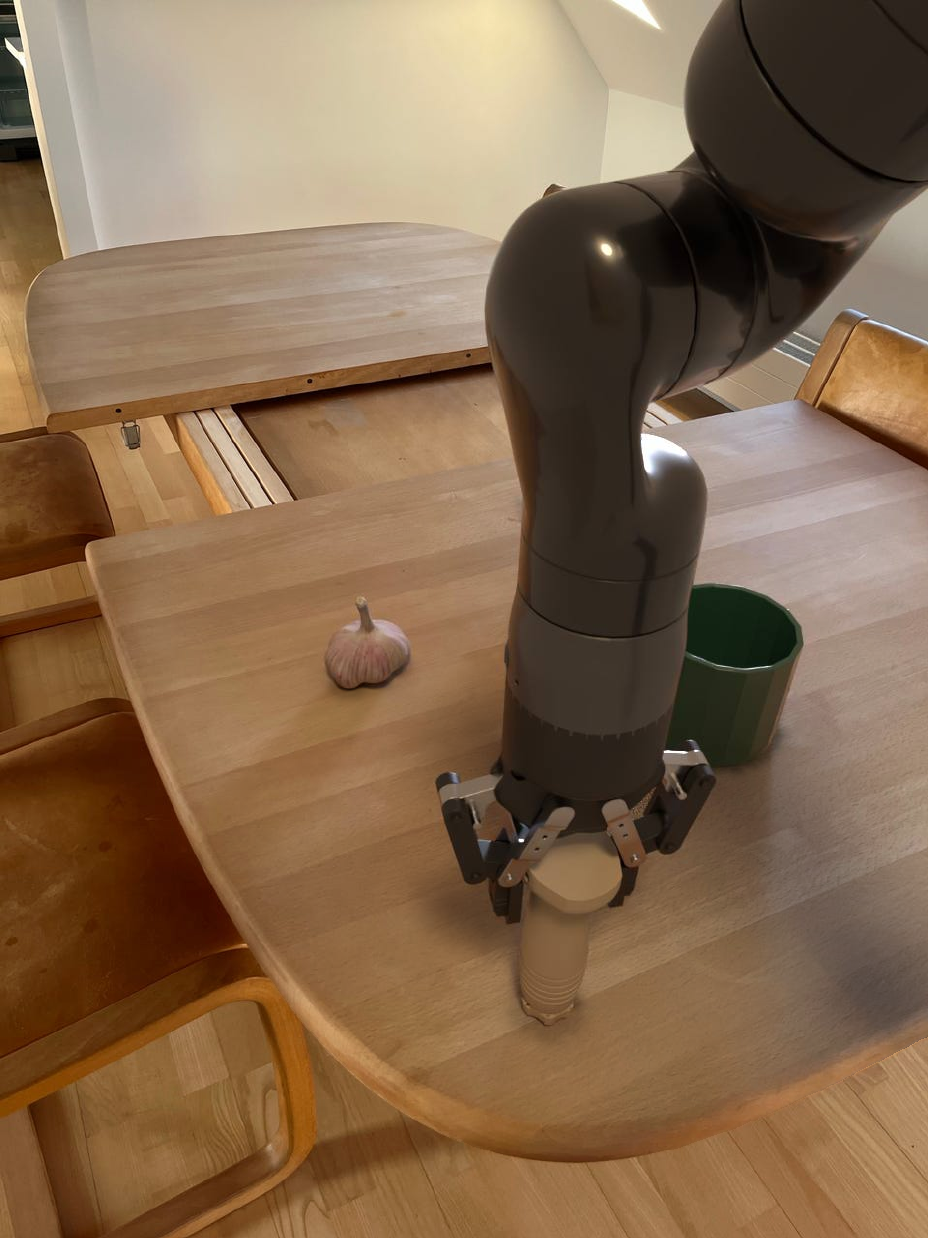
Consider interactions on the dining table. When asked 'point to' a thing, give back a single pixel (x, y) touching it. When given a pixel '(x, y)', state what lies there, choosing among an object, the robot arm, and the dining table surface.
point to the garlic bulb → (366, 650)
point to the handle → (563, 920)
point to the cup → (734, 673)
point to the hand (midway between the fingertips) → (560, 901)
